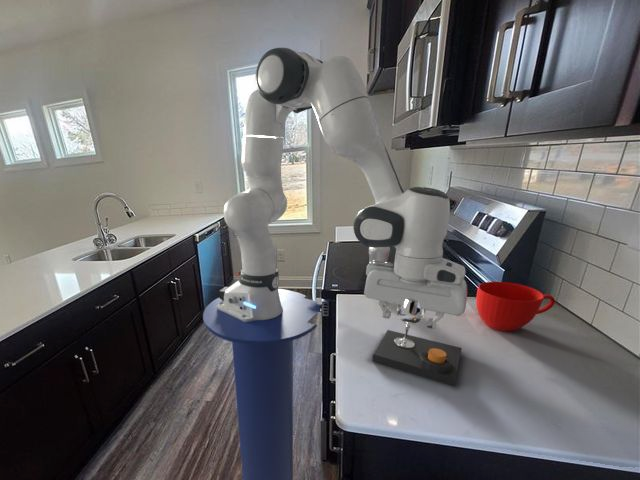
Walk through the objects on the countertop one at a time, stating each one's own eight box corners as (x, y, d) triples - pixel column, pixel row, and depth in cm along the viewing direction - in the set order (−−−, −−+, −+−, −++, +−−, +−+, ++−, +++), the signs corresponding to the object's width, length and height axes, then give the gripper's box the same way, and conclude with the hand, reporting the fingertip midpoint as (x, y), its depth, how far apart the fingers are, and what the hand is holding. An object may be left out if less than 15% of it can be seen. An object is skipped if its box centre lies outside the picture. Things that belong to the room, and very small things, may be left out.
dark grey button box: (371, 361, 73) (373, 348, 72) (386, 336, 82) (388, 324, 81) (454, 386, 64) (457, 372, 62) (460, 354, 73) (463, 341, 72)
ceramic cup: (564, 339, 76) (578, 302, 73) (485, 337, 79) (495, 300, 76) (528, 315, 88) (539, 281, 84) (461, 313, 91) (468, 281, 87)
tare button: (426, 360, 67) (427, 353, 66) (428, 353, 69) (430, 346, 68) (444, 365, 65) (445, 358, 64) (445, 358, 67) (447, 351, 67)
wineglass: (415, 352, 72) (426, 305, 67) (388, 344, 75) (396, 298, 70) (419, 340, 76) (430, 295, 71) (394, 333, 79) (402, 290, 75)
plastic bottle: (383, 295, 106) (389, 236, 99) (362, 291, 110) (367, 234, 103) (388, 288, 111) (394, 232, 103) (368, 285, 115) (373, 230, 107)
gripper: (363, 263, 72) (358, 316, 77) (472, 277, 60) (458, 340, 65) (371, 255, 77) (366, 307, 82) (474, 268, 65) (461, 327, 70)
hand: (407, 322), depth 73 cm, fingers open, 8 cm apart
